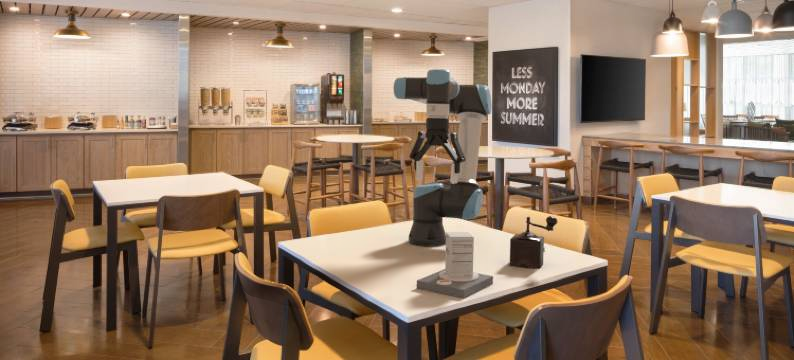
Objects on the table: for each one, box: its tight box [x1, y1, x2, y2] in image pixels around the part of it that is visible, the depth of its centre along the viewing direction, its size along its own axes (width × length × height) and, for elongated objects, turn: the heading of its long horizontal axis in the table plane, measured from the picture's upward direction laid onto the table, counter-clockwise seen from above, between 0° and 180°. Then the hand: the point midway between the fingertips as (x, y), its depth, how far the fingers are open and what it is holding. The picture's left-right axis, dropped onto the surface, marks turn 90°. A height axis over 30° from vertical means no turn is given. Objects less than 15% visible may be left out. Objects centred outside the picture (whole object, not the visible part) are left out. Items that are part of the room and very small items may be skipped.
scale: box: [416, 268, 494, 299], centre depth 188 cm, size 16×18×3 cm
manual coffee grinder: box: [508, 215, 558, 270], centre depth 213 cm, size 16×11×18 cm
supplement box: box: [444, 231, 475, 278], centre depth 189 cm, size 7×7×13 cm
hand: (436, 181), depth 208 cm, fingers open, 13 cm apart
